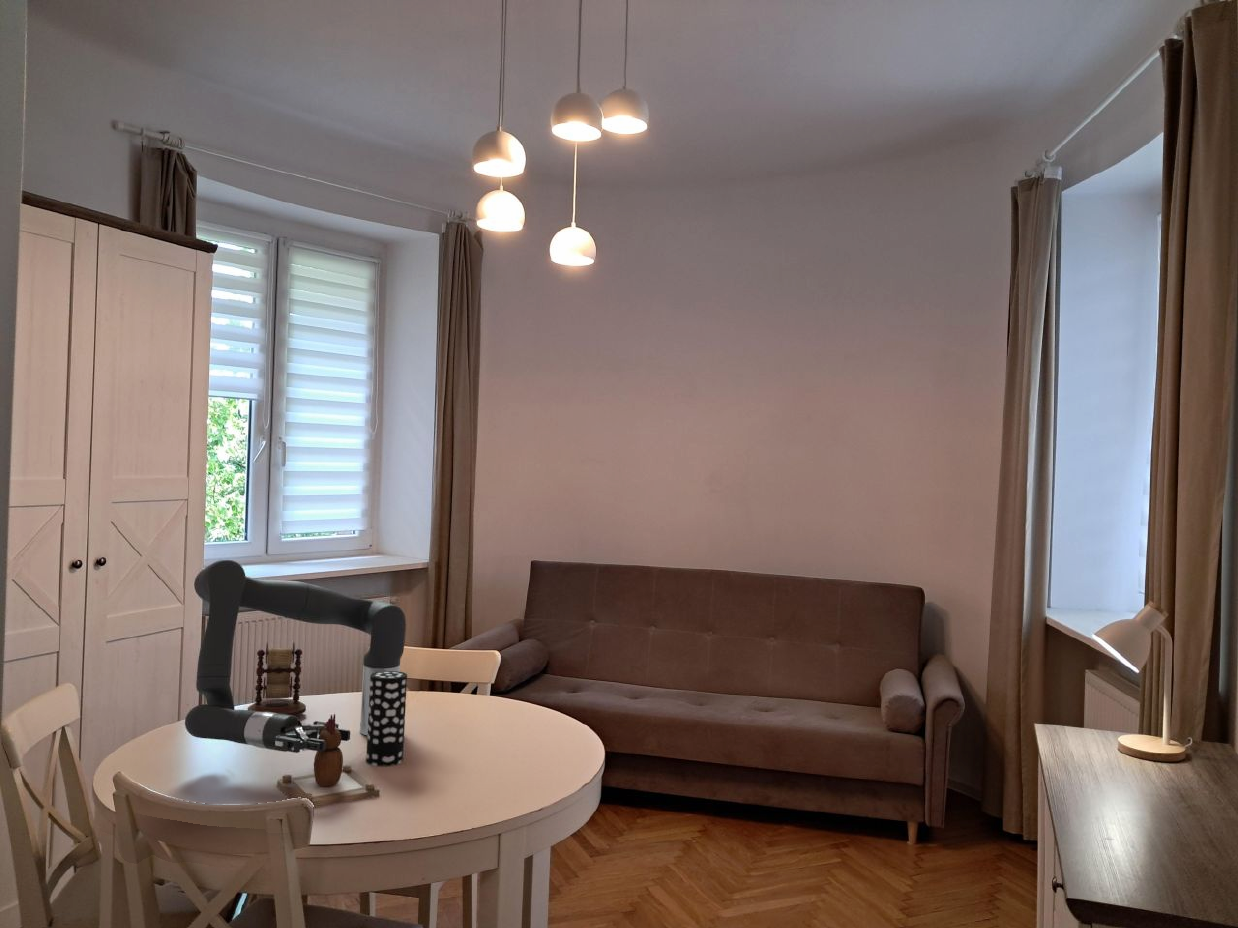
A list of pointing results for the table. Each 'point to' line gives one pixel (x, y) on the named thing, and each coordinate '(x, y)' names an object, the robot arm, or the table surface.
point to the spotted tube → (386, 718)
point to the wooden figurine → (329, 756)
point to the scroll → (278, 682)
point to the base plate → (328, 788)
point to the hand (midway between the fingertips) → (337, 740)
